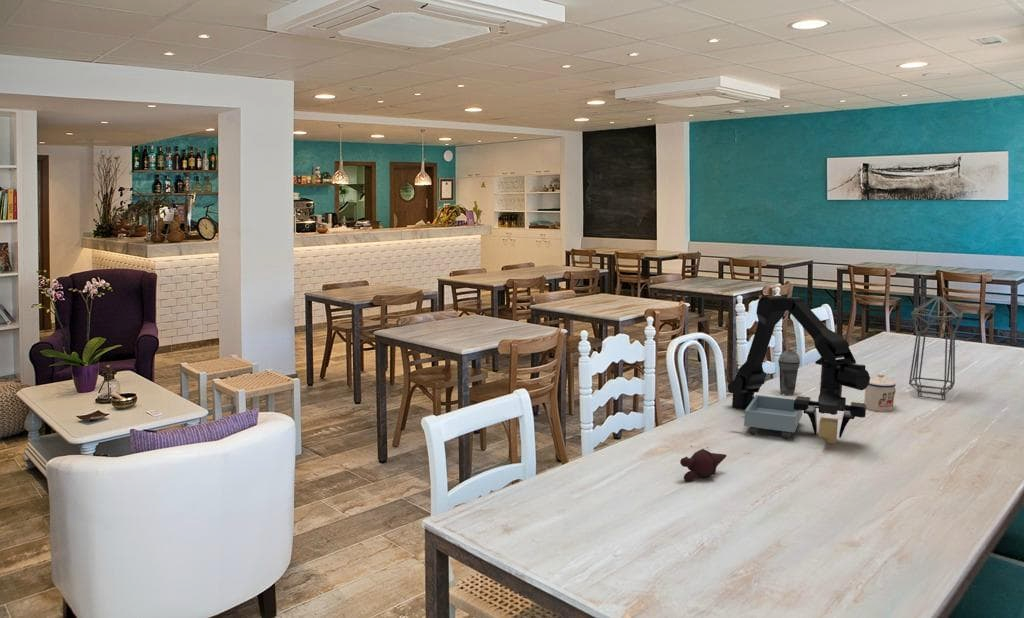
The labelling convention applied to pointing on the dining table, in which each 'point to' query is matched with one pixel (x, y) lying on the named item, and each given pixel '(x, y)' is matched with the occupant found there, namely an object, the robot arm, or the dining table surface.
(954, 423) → the dining table surface
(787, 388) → the beverage cup
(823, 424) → the ochre block
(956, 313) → the geometric lantern
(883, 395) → the teacup with lid
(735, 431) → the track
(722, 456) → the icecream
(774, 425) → the box
